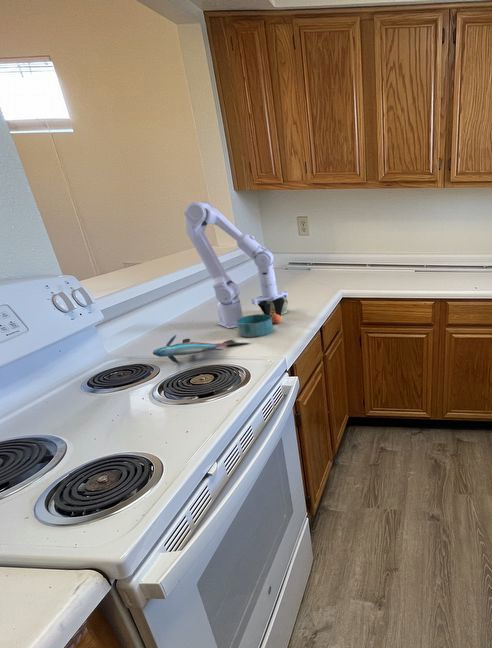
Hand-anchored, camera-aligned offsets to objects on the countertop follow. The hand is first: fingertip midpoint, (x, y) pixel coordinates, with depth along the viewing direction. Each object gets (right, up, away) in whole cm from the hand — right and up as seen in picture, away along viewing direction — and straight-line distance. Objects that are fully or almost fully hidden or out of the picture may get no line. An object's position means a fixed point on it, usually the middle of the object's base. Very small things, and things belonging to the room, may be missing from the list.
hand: (273, 319), depth 161 cm
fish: (-12, -16, -31) cm, 37 cm away
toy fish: (0, -1, +1) cm, 1 cm away
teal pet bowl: (-3, -6, -10) cm, 12 cm away
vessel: (-3, +4, +14) cm, 15 cm away
